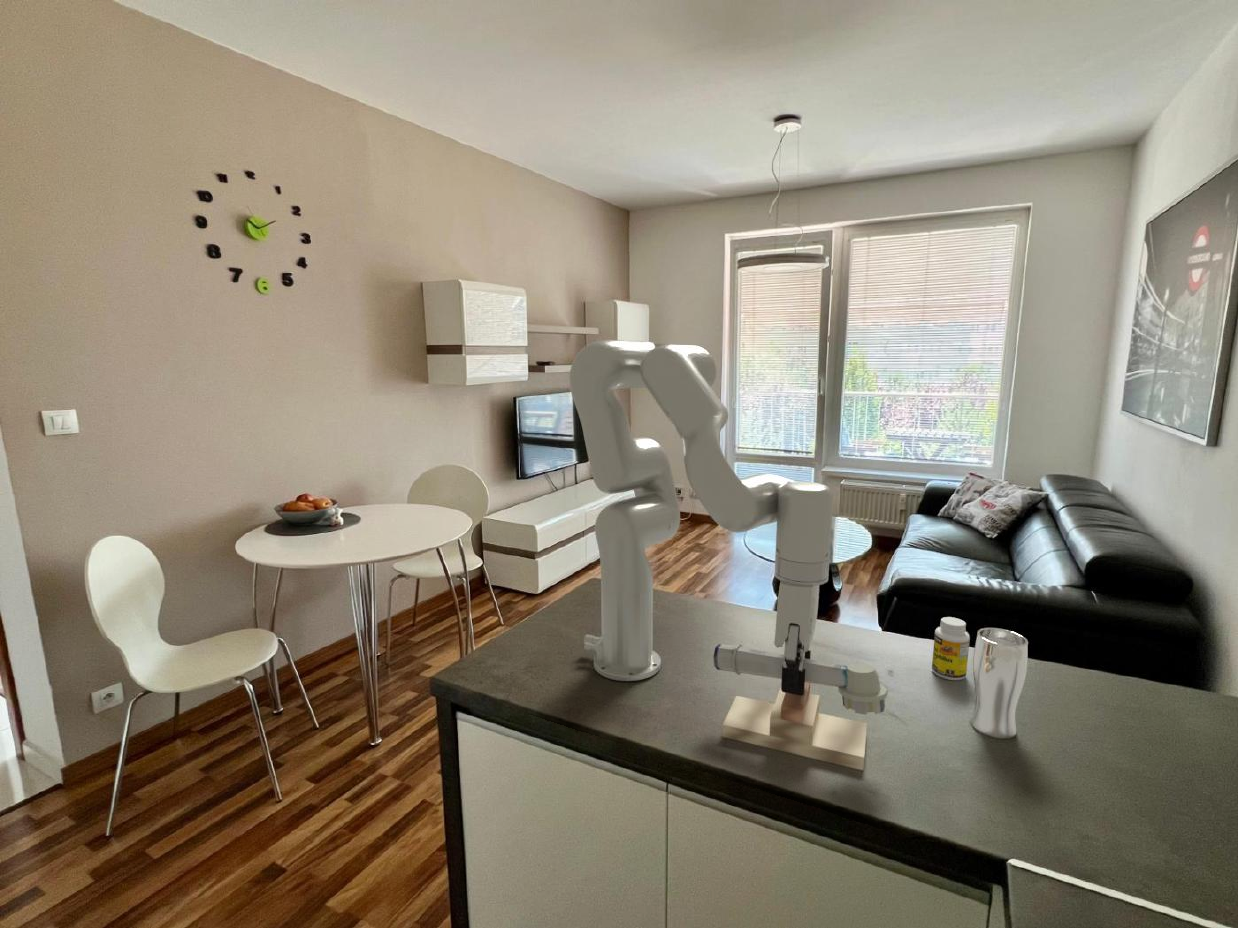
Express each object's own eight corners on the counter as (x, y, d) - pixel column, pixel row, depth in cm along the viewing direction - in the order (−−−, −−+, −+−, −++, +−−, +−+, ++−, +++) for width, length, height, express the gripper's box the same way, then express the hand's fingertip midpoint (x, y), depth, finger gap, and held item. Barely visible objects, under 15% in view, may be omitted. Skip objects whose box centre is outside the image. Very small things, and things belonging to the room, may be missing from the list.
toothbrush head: (723, 637, 102) (887, 656, 88) (727, 676, 102) (890, 701, 89) (710, 649, 97) (880, 671, 84) (714, 690, 98) (884, 718, 84)
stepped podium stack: (722, 736, 95) (723, 694, 93) (736, 706, 103) (737, 667, 101) (863, 770, 87) (866, 724, 85) (866, 735, 95) (868, 692, 94)
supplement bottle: (924, 670, 115) (928, 617, 113) (946, 664, 117) (950, 612, 115) (951, 684, 110) (955, 629, 108) (973, 678, 112) (978, 624, 110)
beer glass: (1001, 745, 92) (1011, 650, 90) (957, 721, 98) (965, 632, 96) (1029, 732, 95) (1039, 640, 93) (985, 710, 101) (993, 623, 99)
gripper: (784, 547, 100) (779, 653, 103) (764, 582, 84) (759, 706, 87) (833, 553, 97) (827, 662, 100) (822, 591, 81) (815, 718, 84)
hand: (795, 681), depth 93 cm, fingers closed on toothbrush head, 5 cm apart
